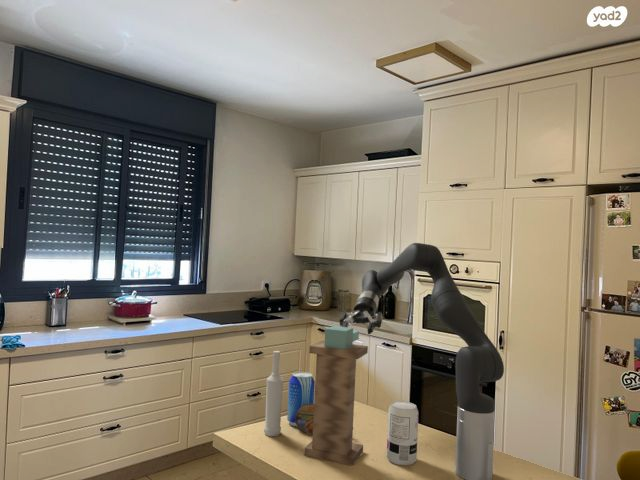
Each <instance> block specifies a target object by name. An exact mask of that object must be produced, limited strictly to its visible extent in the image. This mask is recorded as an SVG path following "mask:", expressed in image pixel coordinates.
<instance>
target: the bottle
mask: <svg viewBox="0 0 640 480" xmlns="http://www.w3.org/2000/svg"><path fill="white" fill-rule="evenodd" d="M272 354H273V355H272V358H273V359H272V372H271V373H270V375H269V376H268V377H267V378H266V388H265V389H266V391H265V392H266V393H265V394H266V396H265V397H266V398H265V420H264V423H265V424H264V428H263V432H264V435H265V436H267V437H277V436H279V435H281V432H282V427H281V420H282V419H281V417H282V408H283V407H282V404H283V392H284V378H283V377H282V376H281V374H280V359H281V357H280V356H281V355H280V354H281V351H280V350H273V352H272Z"/></svg>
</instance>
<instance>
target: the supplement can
mask: <svg viewBox="0 0 640 480" xmlns="http://www.w3.org/2000/svg"><path fill="white" fill-rule="evenodd" d="M387 417H388V419H387V439H386V440H387V441H386V458H387V459H388V461H389V462H390V463H391V464H395V465H397V466H412V465H413V464H415V462H417V460H418V459H417V457H418V456H417V455H418V435H419V431H418V428H419V410H418V407H417V405H416V404H414V403H412V402H409V401H405V400H404V401H403V400H401V401H400V400H399V401H398V400H395V401H392V402H391V403H390V405H389V407H388V416H387Z"/></svg>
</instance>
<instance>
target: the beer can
mask: <svg viewBox="0 0 640 480" xmlns="http://www.w3.org/2000/svg"><path fill="white" fill-rule="evenodd" d="M314 397H315V379H314V377H313V374H312V373H310V372H306V371H296V372H293V373H292V375H291V377H290V378H289V381H288V397H287V398H288V401H287V415H286V419H287V422H288V423H289V425H290V426H292V427H295V426H296V428H298V426H297V425H296V422H295V415H296V412H297V411H298V409H299V408H300V407H301V406H303V405H305V404H314Z"/></svg>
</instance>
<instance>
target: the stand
mask: <svg viewBox="0 0 640 480" xmlns="http://www.w3.org/2000/svg"><path fill="white" fill-rule="evenodd" d="M324 344H325V340H321V341H318V342H315V343H314V344H311V345H309V351H308V352H309V353H308V354H314V355H316V357H315V358H316V361H315V379H314V381H315V386H314V416H313V433H312V436H311V437H312V438H311V441H310V442H309V443H308V444H307V445H306V446H305V447H304V451H303V452H304V453H303V455H304V456H306V457H310V458H315V459H319V460H325V461H329V462H333V463H338V464H343V465H346V466H351V467H353V466H354V465H355V464H356V462H357V461H358V459H359V458H360V457H361V455H362V454H363V452H364V444H361V443H356V442H353V436H354V435H353V432H354V415H355V414H354V411H355V410H354V409H355V392H356V391H355V390H356V369H357V368H356V367H357V365H356V364H357V360H359V359H361V358H362V357H364V356H366V355H367V354H368V352H369V351H368V350H369V346H368V345H360V344H354V343H353V346H351V347H349V348H347V349H337V348H329V347H324Z"/></svg>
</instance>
